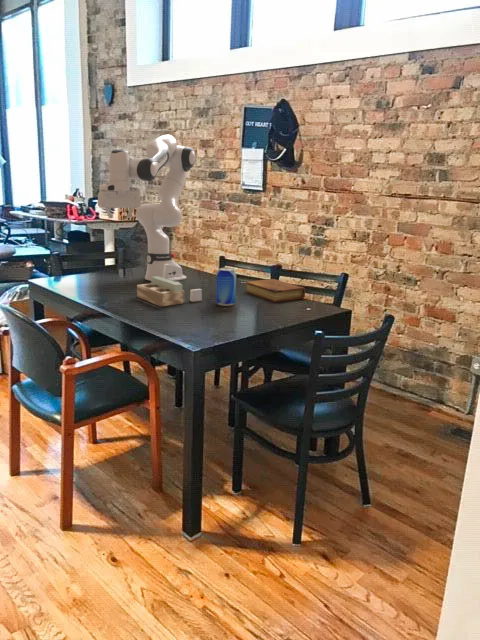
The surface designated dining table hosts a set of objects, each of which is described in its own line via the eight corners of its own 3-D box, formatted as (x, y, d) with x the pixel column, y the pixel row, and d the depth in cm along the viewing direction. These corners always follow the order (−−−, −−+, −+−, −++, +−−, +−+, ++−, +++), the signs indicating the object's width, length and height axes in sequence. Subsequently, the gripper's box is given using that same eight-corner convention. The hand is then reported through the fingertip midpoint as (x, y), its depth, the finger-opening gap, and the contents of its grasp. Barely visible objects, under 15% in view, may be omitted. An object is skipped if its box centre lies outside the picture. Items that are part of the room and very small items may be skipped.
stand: (177, 292, 251) (177, 281, 249) (201, 301, 237) (202, 289, 235) (168, 294, 248) (168, 282, 246) (192, 302, 234) (192, 290, 232)
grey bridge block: (157, 293, 244) (157, 276, 242) (182, 302, 230) (182, 284, 227) (151, 293, 242) (151, 276, 240) (175, 303, 227) (175, 284, 225)
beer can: (237, 303, 235) (239, 268, 231) (231, 308, 228) (232, 271, 223) (220, 301, 238) (221, 266, 234) (213, 305, 230) (214, 269, 226)
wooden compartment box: (160, 295, 245) (160, 282, 244) (184, 304, 231) (184, 290, 229) (137, 297, 238) (137, 284, 236) (160, 307, 223) (161, 293, 221)
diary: (304, 299, 254) (305, 287, 252) (275, 303, 243) (275, 291, 241) (273, 289, 271) (274, 278, 270) (244, 292, 260) (245, 281, 259)
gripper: (136, 186, 246) (136, 216, 250) (95, 186, 234) (96, 217, 237) (143, 187, 242) (143, 218, 246) (102, 186, 229) (102, 218, 233)
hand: (120, 217), depth 241 cm, fingers open, 8 cm apart
